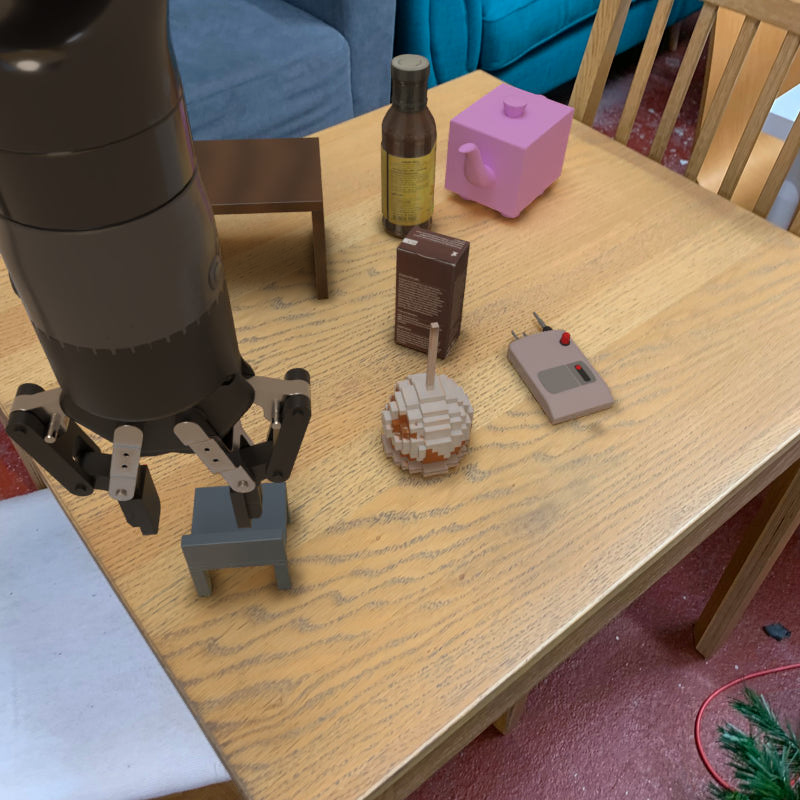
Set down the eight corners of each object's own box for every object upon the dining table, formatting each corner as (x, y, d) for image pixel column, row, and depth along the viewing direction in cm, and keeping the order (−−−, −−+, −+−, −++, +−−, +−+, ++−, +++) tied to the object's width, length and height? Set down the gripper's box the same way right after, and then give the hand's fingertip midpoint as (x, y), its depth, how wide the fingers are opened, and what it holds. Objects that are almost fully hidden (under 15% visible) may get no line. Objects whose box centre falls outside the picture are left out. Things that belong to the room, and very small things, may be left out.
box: (461, 333, 80) (472, 240, 71) (444, 361, 78) (454, 267, 69) (409, 316, 82) (413, 223, 73) (391, 342, 79) (394, 249, 70)
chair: (198, 596, 60) (180, 546, 54) (204, 518, 65) (188, 465, 59) (290, 589, 60) (282, 538, 55) (290, 512, 65) (282, 459, 60)
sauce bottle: (442, 228, 93) (456, 66, 78) (402, 247, 90) (408, 82, 75) (409, 203, 96) (416, 43, 81) (369, 221, 93) (369, 58, 78)
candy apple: (374, 419, 72) (375, 299, 61) (453, 407, 74) (468, 286, 62) (392, 485, 67) (397, 367, 56) (477, 471, 69) (497, 352, 57)
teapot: (501, 152, 105) (514, 61, 95) (567, 177, 101) (587, 85, 92) (417, 219, 94) (423, 124, 84) (487, 251, 90) (501, 154, 81)
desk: (179, 305, 82) (154, 206, 73) (188, 238, 90) (167, 140, 81) (328, 298, 84) (323, 200, 74) (324, 232, 91) (318, 136, 82)
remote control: (562, 439, 71) (568, 418, 69) (488, 331, 81) (492, 309, 79) (622, 420, 73) (630, 400, 71) (543, 316, 83) (548, 295, 80)
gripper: (308, 211, 33) (326, 455, 45) (-43, 224, 31) (77, 471, 44) (313, 332, 28) (331, 568, 40) (-103, 353, 26) (52, 590, 39)
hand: (198, 516), depth 42 cm, fingers open, 4 cm apart
